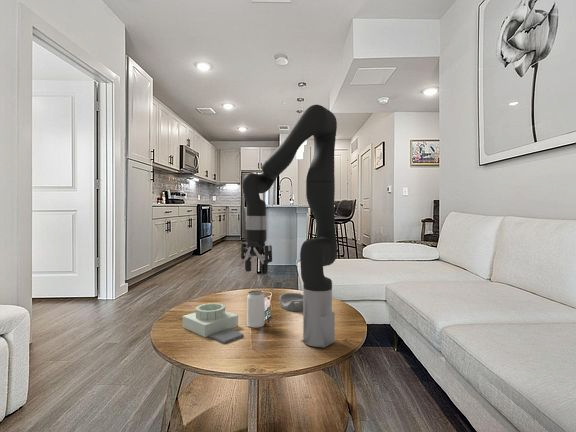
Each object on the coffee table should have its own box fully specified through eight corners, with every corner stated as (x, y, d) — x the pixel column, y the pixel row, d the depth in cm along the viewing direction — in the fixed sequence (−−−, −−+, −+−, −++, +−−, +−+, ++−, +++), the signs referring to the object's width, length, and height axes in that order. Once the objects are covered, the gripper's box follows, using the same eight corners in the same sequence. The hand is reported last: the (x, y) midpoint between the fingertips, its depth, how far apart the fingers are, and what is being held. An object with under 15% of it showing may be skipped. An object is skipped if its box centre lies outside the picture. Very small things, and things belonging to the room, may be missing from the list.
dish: (301, 314, 128) (301, 302, 128) (272, 309, 135) (273, 297, 135) (316, 305, 140) (316, 294, 140) (289, 301, 147) (289, 290, 147)
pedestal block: (238, 326, 114) (238, 306, 114) (204, 337, 103) (204, 316, 103) (215, 317, 123) (215, 299, 123) (182, 327, 112) (182, 307, 112)
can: (266, 322, 118) (266, 290, 117) (262, 328, 111) (263, 294, 111) (249, 321, 118) (249, 290, 118) (245, 328, 112) (245, 294, 112)
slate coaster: (243, 336, 104) (243, 334, 104) (223, 343, 98) (223, 341, 98) (228, 330, 109) (228, 328, 109) (209, 337, 103) (209, 334, 103)
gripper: (277, 228, 112) (277, 273, 113) (250, 227, 122) (250, 269, 122) (262, 229, 107) (262, 276, 107) (235, 228, 116) (235, 271, 116)
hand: (256, 272), depth 115 cm, fingers open, 8 cm apart
